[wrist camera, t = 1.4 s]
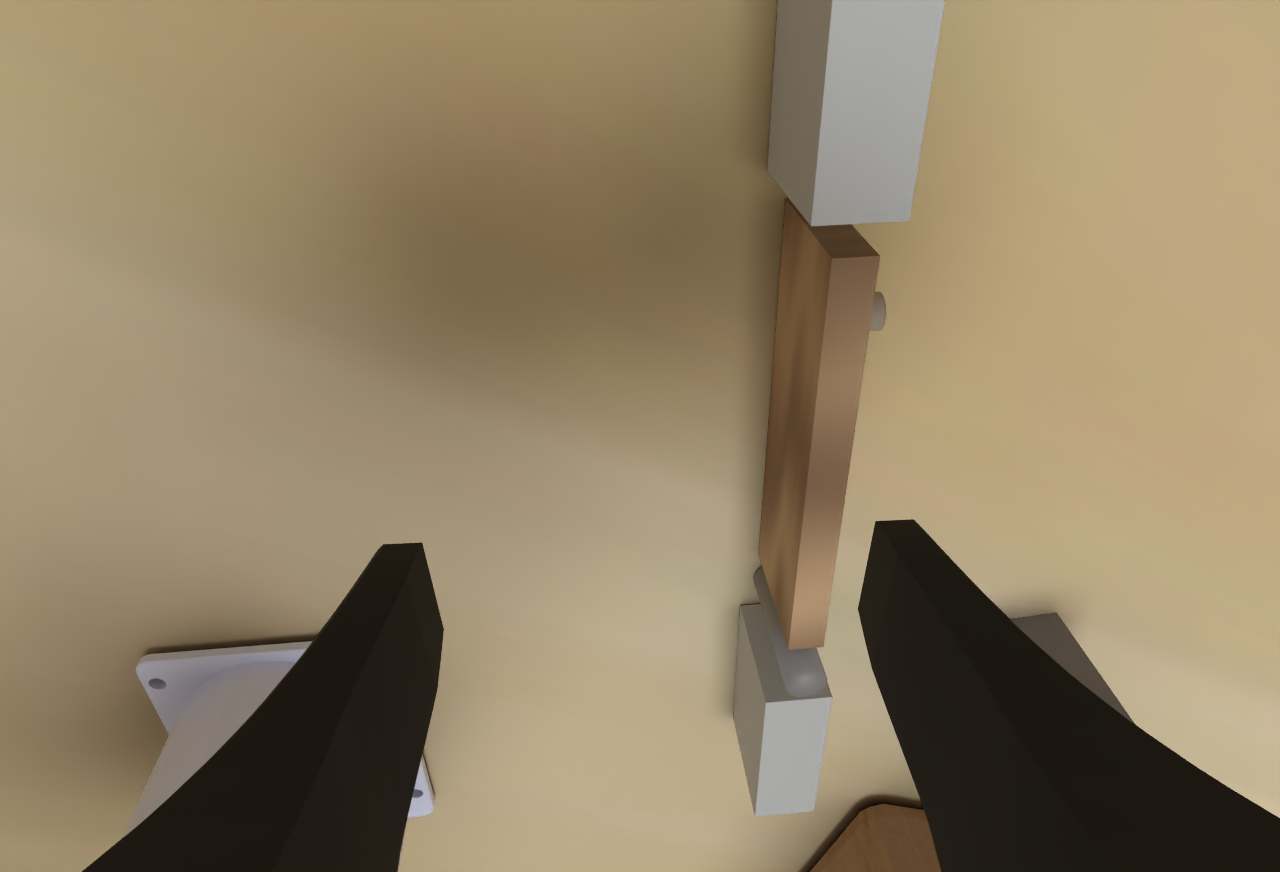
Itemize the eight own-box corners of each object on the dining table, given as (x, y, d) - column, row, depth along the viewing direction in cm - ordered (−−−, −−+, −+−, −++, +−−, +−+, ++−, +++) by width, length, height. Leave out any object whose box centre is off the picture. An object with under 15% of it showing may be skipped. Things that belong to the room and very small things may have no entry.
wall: (785, 712, 31) (817, 822, 27) (733, 717, 31) (757, 828, 27) (883, -125, 17) (976, -133, 13) (785, -123, 16) (852, -130, 13)
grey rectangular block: (1029, 718, 32) (1099, 838, 28) (942, 730, 32) (999, 852, 28) (1055, 611, 29) (1139, 729, 25) (958, 624, 29) (1026, 745, 25)
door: (813, 550, 26) (850, 644, 23) (758, 554, 26) (788, 649, 23) (857, 195, 20) (918, 254, 17) (785, 199, 20) (832, 258, 17)
